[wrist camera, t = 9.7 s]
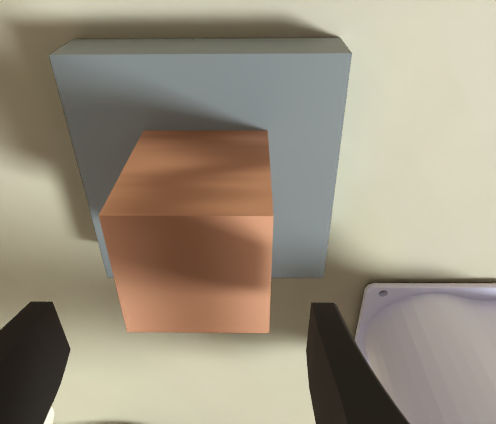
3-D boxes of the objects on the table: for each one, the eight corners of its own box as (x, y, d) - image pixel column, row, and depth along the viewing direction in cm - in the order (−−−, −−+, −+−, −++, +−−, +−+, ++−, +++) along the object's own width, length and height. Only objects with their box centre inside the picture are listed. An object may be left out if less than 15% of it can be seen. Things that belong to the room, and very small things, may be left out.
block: (267, 130, 17) (273, 216, 12) (265, 230, 20) (269, 333, 15) (143, 130, 17) (98, 215, 12) (158, 229, 20) (127, 332, 15)
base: (340, 37, 17) (352, 53, 15) (317, 246, 24) (323, 278, 22) (73, 39, 18) (48, 54, 15) (120, 246, 24) (107, 277, 22)
